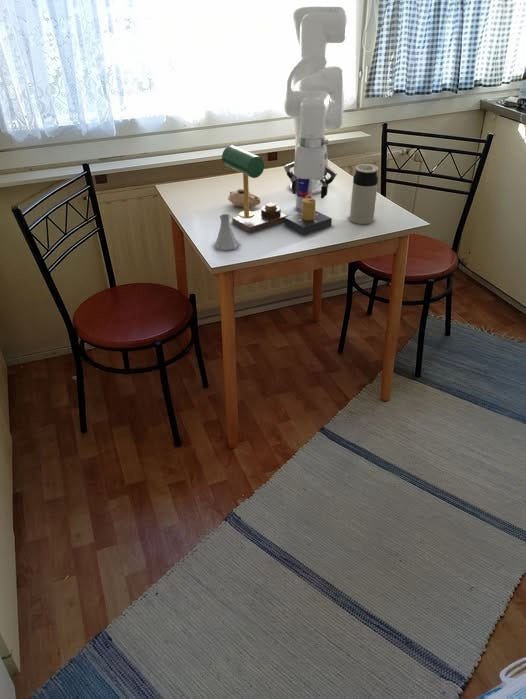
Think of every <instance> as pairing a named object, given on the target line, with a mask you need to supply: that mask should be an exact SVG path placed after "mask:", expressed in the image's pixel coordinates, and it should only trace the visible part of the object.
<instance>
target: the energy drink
mask: <svg viewBox="0 0 526 699" xmlns="http://www.w3.org/2000/svg"><path fill="white" fill-rule="evenodd" d="M297 179H298V191H297V192H296V193H295V210H296V211H297V212H299V213H301V212H302V200H303V199H304V198H313V197H312V195H313V194H312V179H306V178H300V177H297Z"/></svg>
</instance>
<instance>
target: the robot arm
mask: <svg viewBox="0 0 526 699" xmlns="http://www.w3.org/2000/svg"><path fill="white" fill-rule="evenodd" d="M291 17H292V18H291V22H292V23H291V24H292V31H293V35H294V38H295V42H296V45H297V48H298V61H297V63H295V65H294V66H293V67H292V68H291V69H290V71H289V73H288V75H287V77H286V80H285V83H284V102H283V103H284V105H283V106H284V112H285V114H286V115H287V116H288V117H290V118H293V121H294V133H295V136H294V137H295V140H294V142H295V143H294V161H293V162H290V163H287V164H285V165H284V167H283V168H284V170H285V173H286V176H287V177H288V179H289V180H290V182H291V183H290V185H289V189H290V190H291V191H292V195H296V192H297V191H298V179H297V177H300V178H306V179H312V195H315V194H318V193H320V199H322V200H323V199H324V198H325V197H327V196H328V190H329V189H328V188H329V185H331V183H332V182H333V181H334V180H335V179H336V177H337V175H338V173H337V172H336V171H335V170H334V169H333V168H331V167H330V166H329V162H328V159H329V158H328V149H327V145H329V139H328V138H327V139H326V135H325V131H327V130H328V131H331V130H333V131H334V130H339V129H340V128H341V126H342V124H343V121H344V107H345V106H344V105H345V82H346V81H345V73H344V71H343V68H341V67H339V66H326V65H327V63H328V44H342V43H343V42H345V41H346V38H347V34H348V19H347V14H346V11H345V9H344V8H343V7H341V6H302V7H298V8H296V9H295V10H294V11H293V12H292V16H291ZM296 84H298V90H294V88H295V86H296ZM292 168H293V171H292V170H291V169H292Z"/></svg>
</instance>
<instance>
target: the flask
mask: <svg viewBox="0 0 526 699" xmlns="http://www.w3.org/2000/svg"><path fill="white" fill-rule="evenodd" d="M230 218H231V215H230V214H229V213H223V214H220V215H219V219H220V227H219V231H218V234H217V237H216V240H215V243H214V247H215V248H216V249H217V250H218V251H219V250H220V251H221V250H222V251H230V250H235V249H237V247H238V245H239V244H238V242H237V238H236V237H235V235H234V232H233V230H232V226H231V221H230Z"/></svg>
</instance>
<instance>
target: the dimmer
mask: <svg viewBox="0 0 526 699" xmlns="http://www.w3.org/2000/svg"><path fill="white" fill-rule="evenodd" d="M332 221H333V218H332V217H331V216H328V215H326V214H324V213H322V212H320V211H317V210H315V219H313V220H304V219H302V212H298V213H295V214H292V215H288V217H285V222H284V226H285V227H286V228H289V229H290V230H292V231H294V232H296V233H298V234H300V235H301V236H307V235H310V234H314V233H316V232H320V231H322V230H326V229H328V228H331V227H332V224H333V223H332Z"/></svg>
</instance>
